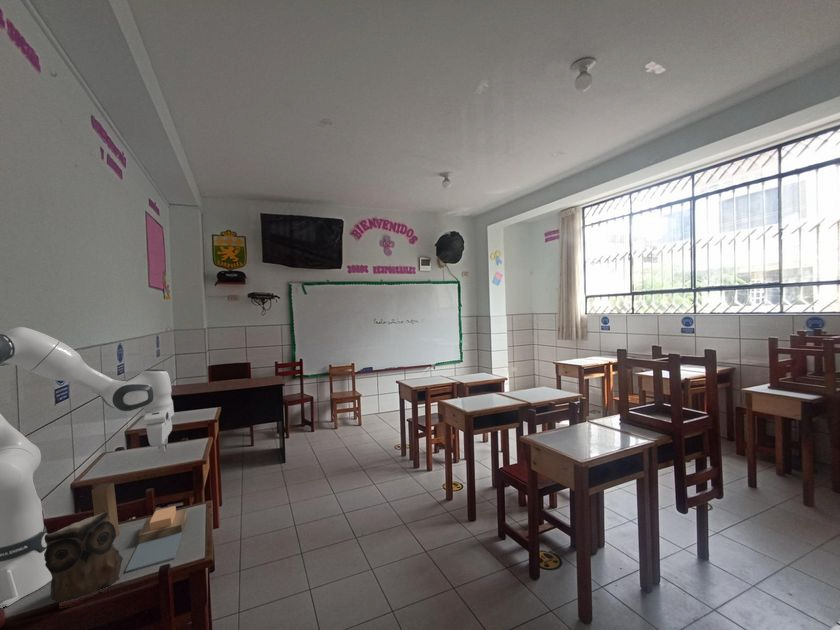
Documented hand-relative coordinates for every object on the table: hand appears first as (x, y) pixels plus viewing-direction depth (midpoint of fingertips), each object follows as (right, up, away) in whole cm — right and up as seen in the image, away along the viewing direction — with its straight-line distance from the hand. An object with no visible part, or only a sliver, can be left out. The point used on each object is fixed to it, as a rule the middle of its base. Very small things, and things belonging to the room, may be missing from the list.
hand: (163, 450), depth 143 cm
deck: (+6, -24, -9) cm, 26 cm away
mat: (+12, -24, -21) cm, 34 cm away
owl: (+3, -25, -36) cm, 44 cm away
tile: (+6, -21, -9) cm, 24 cm away
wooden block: (-13, -26, -12) cm, 31 cm away
